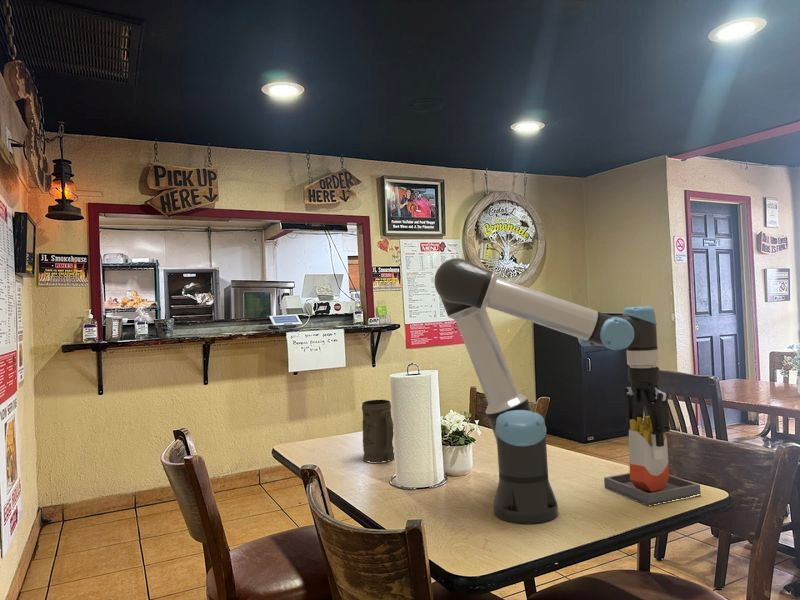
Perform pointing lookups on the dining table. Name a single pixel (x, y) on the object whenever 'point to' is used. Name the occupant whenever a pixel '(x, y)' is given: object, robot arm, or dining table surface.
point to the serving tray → (671, 491)
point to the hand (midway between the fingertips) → (649, 456)
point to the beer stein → (377, 431)
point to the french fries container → (646, 457)
